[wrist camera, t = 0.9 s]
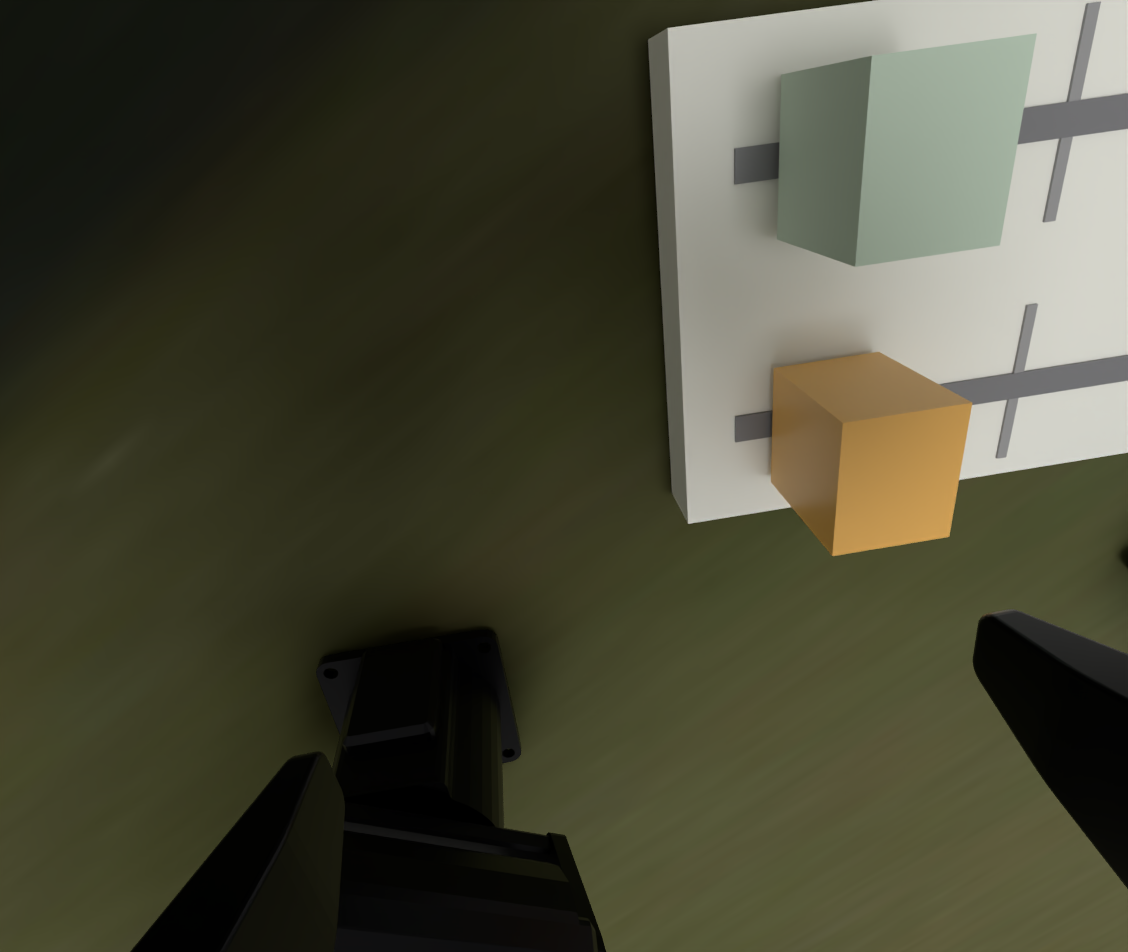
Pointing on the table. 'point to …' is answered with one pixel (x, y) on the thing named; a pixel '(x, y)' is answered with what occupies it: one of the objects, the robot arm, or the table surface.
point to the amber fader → (867, 451)
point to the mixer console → (899, 288)
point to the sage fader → (902, 151)
